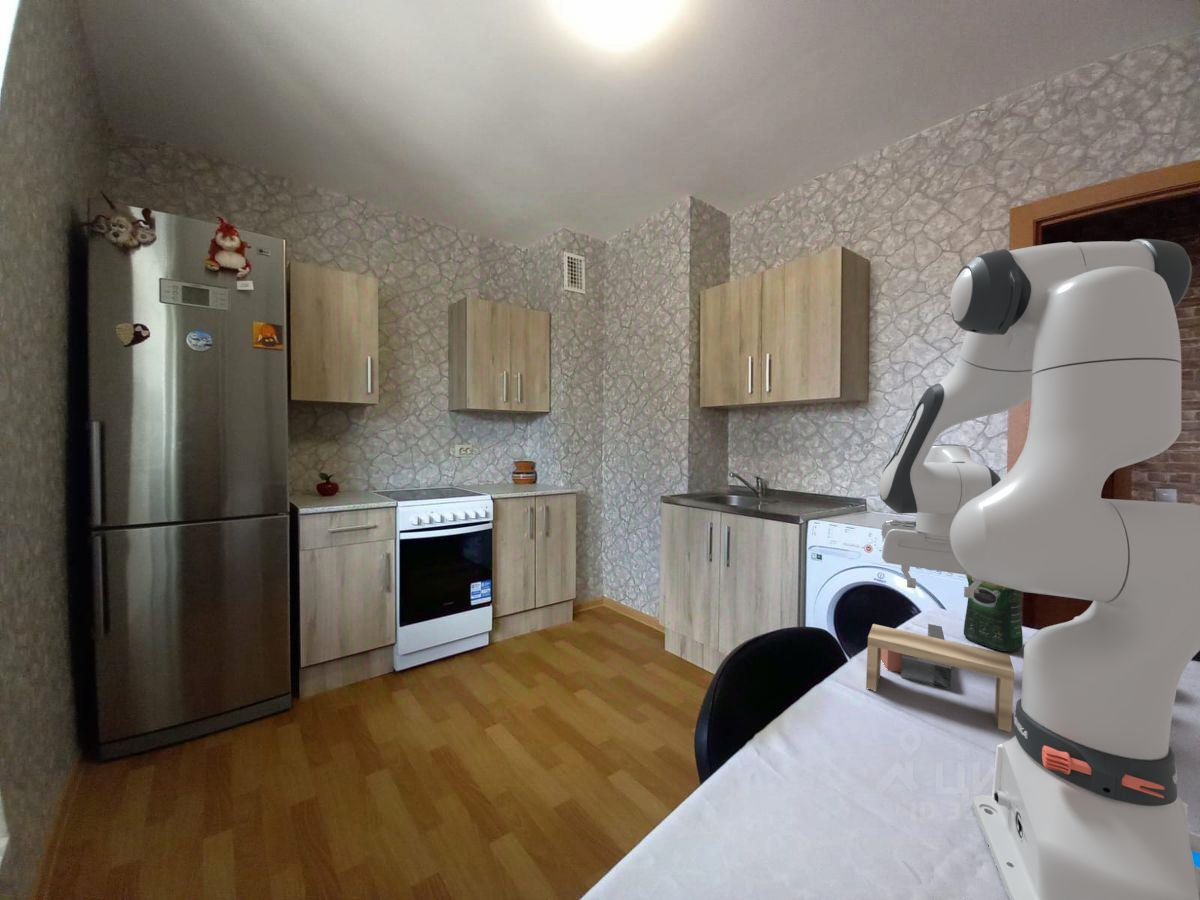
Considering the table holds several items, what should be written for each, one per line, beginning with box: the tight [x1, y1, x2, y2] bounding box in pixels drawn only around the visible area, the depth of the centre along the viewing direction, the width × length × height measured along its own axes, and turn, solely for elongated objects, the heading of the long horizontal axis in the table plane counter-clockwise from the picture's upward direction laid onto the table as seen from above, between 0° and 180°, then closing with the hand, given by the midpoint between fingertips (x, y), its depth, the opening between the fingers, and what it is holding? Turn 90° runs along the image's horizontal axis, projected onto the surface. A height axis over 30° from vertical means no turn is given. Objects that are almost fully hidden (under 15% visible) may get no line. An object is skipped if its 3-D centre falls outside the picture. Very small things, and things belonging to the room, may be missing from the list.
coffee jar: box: [963, 575, 1024, 653], centre depth 101 cm, size 10×8×19 cm
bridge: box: [865, 623, 1015, 733], centre depth 80 cm, size 7×20×10 cm, turn 53°
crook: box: [900, 623, 952, 691], centre depth 94 cm, size 21×7×4 cm, turn 147°
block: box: [881, 648, 902, 673], centre depth 91 cm, size 5×5×5 cm
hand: (939, 592), depth 94 cm, fingers open, 8 cm apart
